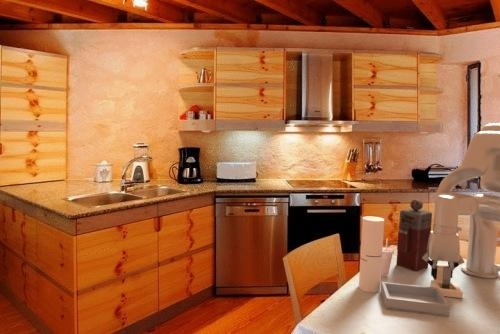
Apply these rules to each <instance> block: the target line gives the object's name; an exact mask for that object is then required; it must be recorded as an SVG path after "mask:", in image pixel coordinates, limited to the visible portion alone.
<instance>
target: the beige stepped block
mask: <svg viewBox="0 0 500 334" xmlns="http://www.w3.org/2000/svg"><path fill="white" fill-rule="evenodd" d="M444 266H448V263H439V262H437V265H436V268H437V279H434V278H433V277H432V278H433V280H432V279H431V280H430V287H435V288H439V290H440V291H441V293H442V294H443V296H444V297H447V298H448V297H449V298H450V297H451V298H459V299H460V298H461V299H463V297H464V296H463V295H464V291H463V290H462V289H461V288H460V287H459V286H458V284H457V283H456V282H452V281H450V289H443V288H442V280H443V268H444Z"/></svg>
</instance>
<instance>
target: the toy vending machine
mask: <svg viewBox="0 0 500 334" xmlns="http://www.w3.org/2000/svg"><path fill="white" fill-rule="evenodd" d="M423 206H424V203H423V201H422V200H420V199H418V198H417V199H413V200H411V202H410V208H406V209H401V210H400V211H399V221H398V231H397V244H396V245H397V246H396V249H397V252H396V266H398V267H401V268H404V269H408V270H410V271H413V272H415V273H417V272H420V271H423V270H425V269H428V268H429V263H428V262H426V261H425V260H423V259H422V256H423V255H424V254H425V252H426V251H427V245H428V239H429V235H430V232H431V231H432V223H433V222H432V221H433V220H432V219H433V213H432V212H431V211H428V210H425V209H422V208H423ZM428 259H430V258H429V256H428Z"/></svg>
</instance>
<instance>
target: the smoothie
mask: <svg viewBox="0 0 500 334" xmlns="http://www.w3.org/2000/svg"><path fill="white" fill-rule="evenodd" d="M388 243H389V239H388V238H386V240H385V246H383V250H382V266H381V276H388V275H389V273H390V268H391V265H392V259H393V254H394V249H393V248H390V247H388Z"/></svg>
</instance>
